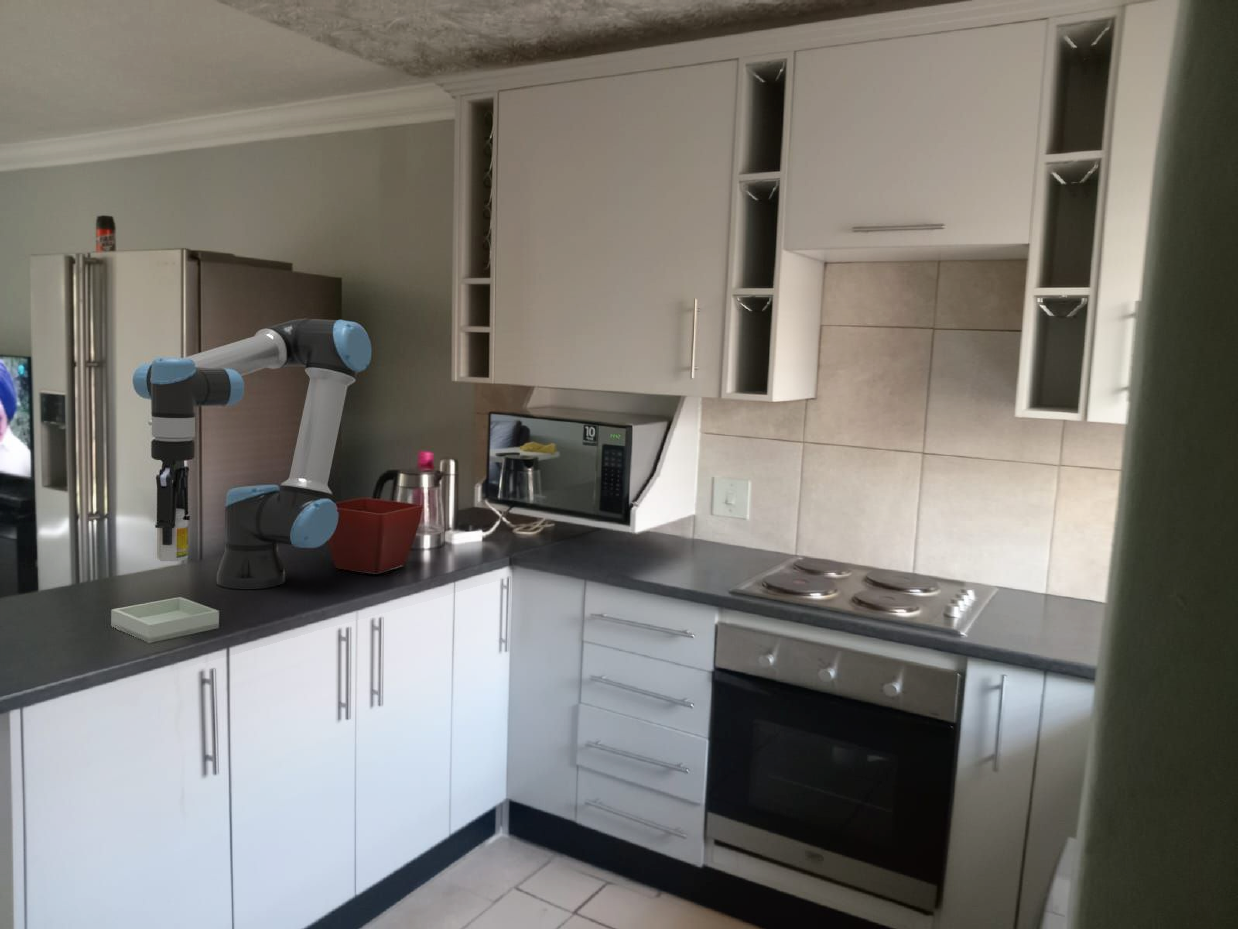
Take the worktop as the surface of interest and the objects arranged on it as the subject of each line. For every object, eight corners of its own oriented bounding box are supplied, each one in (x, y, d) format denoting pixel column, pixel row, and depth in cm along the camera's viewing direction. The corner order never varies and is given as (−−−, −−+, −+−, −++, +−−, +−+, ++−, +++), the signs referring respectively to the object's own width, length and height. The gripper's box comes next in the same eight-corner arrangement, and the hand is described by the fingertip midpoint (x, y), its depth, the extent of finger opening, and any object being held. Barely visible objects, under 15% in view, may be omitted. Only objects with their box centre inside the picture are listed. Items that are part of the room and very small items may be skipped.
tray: (180, 613, 191) (180, 596, 190) (218, 628, 183) (218, 611, 183) (111, 627, 179) (111, 609, 179) (149, 643, 172) (149, 625, 171)
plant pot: (361, 557, 251) (364, 496, 249) (422, 566, 245) (424, 504, 243) (316, 570, 234) (318, 505, 232) (379, 581, 227) (382, 514, 225)
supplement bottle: (152, 557, 178) (152, 509, 177) (181, 554, 182) (181, 506, 181) (164, 563, 175) (164, 513, 174) (192, 559, 179) (192, 511, 178)
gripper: (165, 433, 184) (165, 546, 187) (136, 443, 166) (137, 568, 169) (205, 434, 185) (205, 547, 188) (181, 444, 168) (180, 568, 170)
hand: (172, 557), depth 179 cm, fingers closed on supplement bottle, 5 cm apart
